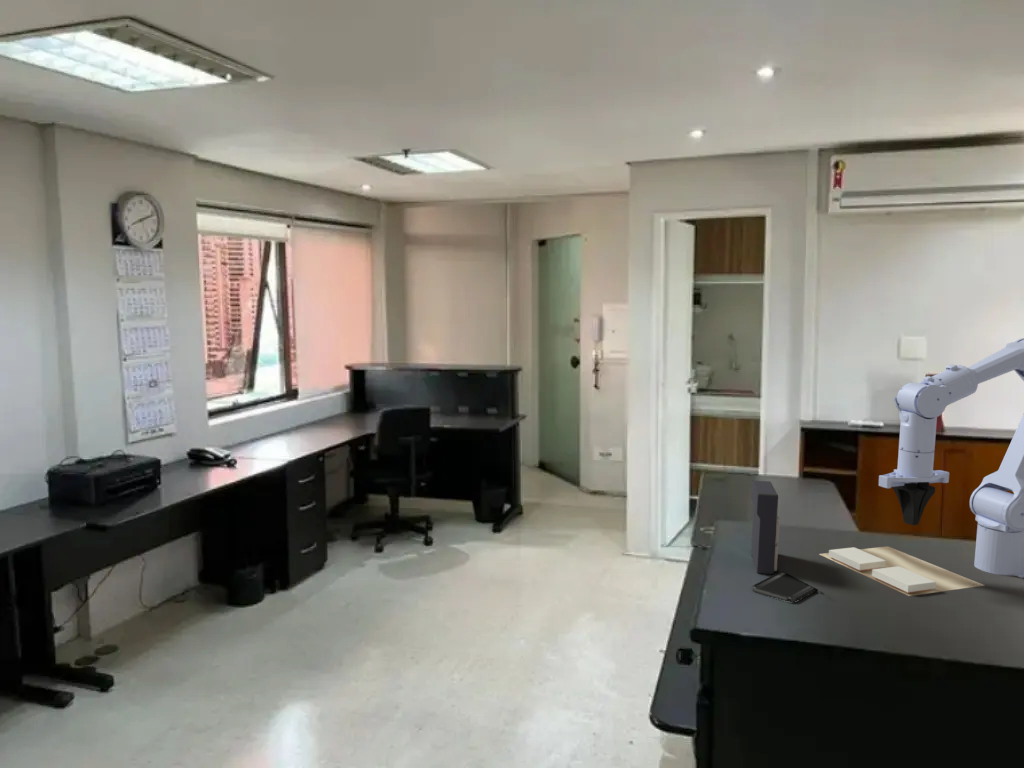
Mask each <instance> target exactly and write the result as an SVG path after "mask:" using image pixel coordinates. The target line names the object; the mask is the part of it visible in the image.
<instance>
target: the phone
mask: <svg viewBox="0 0 1024 768" xmlns="http://www.w3.org/2000/svg"><path fill="white" fill-rule="evenodd" d="M816 590H817V591H819V590H818V588H816V587H814V586H812V585H810V584H808V583H806V582H804V581H803V580H801V579H798V578H797V577H795V576H793V575H791V574H789V573H788V572H786V571H783V570H781V571H779V572H777V573H774V574H772V575H771V576H769V577H767V578H765V579H763V580H761V581H760V582H757V583H754V584H753V585H752V593H753V592H754V593H755V594H759V595H761V596H764V597H768V596H769V597H768V598H771V597H773V598H772V599H774V598H778V599H781V600H785V601H790V602H795V601H797V600H799V601H801V600H802V599H801V598H803V597H805V596H806V597H808V596H809V595H808V594H810V593H812V592H813V593H815V592H817V591H816ZM814 591H815V592H814ZM813 593H812V594H813ZM807 595H808V596H807ZM810 595H811V594H810ZM806 597H805V598H806ZM800 599H801V600H800ZM803 599H804V598H803ZM781 600H780V601H781Z"/></svg>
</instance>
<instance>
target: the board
mask: <svg viewBox="0 0 1024 768" xmlns="http://www.w3.org/2000/svg"><path fill="white" fill-rule="evenodd" d="M858 549H859V548H858ZM859 550H862V551H864V552H867V553H869V554H871V555H874V556H876V557H878V558H881V559H883V560H885V561H886V567H882V568H888V567H897V566H900V567H902V568H904V569H907V570H909V571H911V572H914V573H916V574H918V575H921V576H923V577H925V578H928V579H930V580H933V581H935V582H936V585H935V589H931V590H929V591H922V592H915V593H905V592H903V591H901V590H899V589H897V588H895V587H892V586H890V585H888V584H886V583H884V582H882V581H879V580H877V579H875V577H873V576H872V570H867V571H858V570H855V569H853V568H851V567H849V566H847V565H845V564H842V563H840V562H838V561H836V560H834V559H832V557H830V556H829V552H825V553H824V552H823V553H818V555H819V556H822V557H824V558H826V559H828V560H829V561H830V560H831V561H832V562H835V563H836V564H839V565H841V566H843V567H846V568H847V569H850V570H852V571H853V572H856V573H858V574H860V575H863V576H865V577H867V578H869V579H871V580H874V581H876V582H878V583H880V584H882V585H884V586H886V587H889V588H890V589H892V590H895V591H897V592H899V593H902V594H903V595H906V596H908V597H914V596H920V595H927V594H933V593H934V594H935V593H941V592H948V591H949V592H950V591H955V590H963V589H970V588H971V589H972V588H977V587H985V584H983V583H981V582H980V583H979V582H978V581H975V580H973V579H970V578H968V577H965V576H962V575H960V574H957V573H954V572H952V571H951V570H947V569H945V568H943V567H940V566H938V565H935V564H933V563H930V562H927V561H926V560H922V559H921V558H918V557H916V556H913V555H910V554H908V553H906V552H903V551H901V550H898V549H895V548H893V547H891V546H888V545H887V546H879V547H871V548H870V547H868V548H861V549H859Z"/></svg>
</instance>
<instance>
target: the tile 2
mask: <svg viewBox="0 0 1024 768" xmlns="http://www.w3.org/2000/svg"><path fill="white" fill-rule="evenodd" d="M872 576H873V577H875V579H877V580H879V581H882V582H884V583H886V584H888V585H890V586H892V587H895V588H897V589H899V590H901V591H903V592H905V593H915V592H922V591H929V590H931V589H935V585H936V582H935V581H933V580H930V579H928V578H925V577H923V576H921V575H918V574H916V573H914V572H911V571H909V570H907V569H904V568H902V567H900V566H897V567H888V568H880V569H872Z"/></svg>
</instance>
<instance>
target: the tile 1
mask: <svg viewBox="0 0 1024 768" xmlns="http://www.w3.org/2000/svg"><path fill="white" fill-rule="evenodd" d="M828 553H829V556H830V557H832V559H834V560H836V561H838V562H840V563H842V564H845V565H847V566H849V567H851V568H853V569H855V570H858V571H867V570H872V569H880V568H882V567H886V561H885V560H883V559H881V558H878V557H876V556H874V555H871V554H869V553H867V552H864V551H862V550H859V548H857V547H845V548H844V547H843V548H834V549H828Z"/></svg>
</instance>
